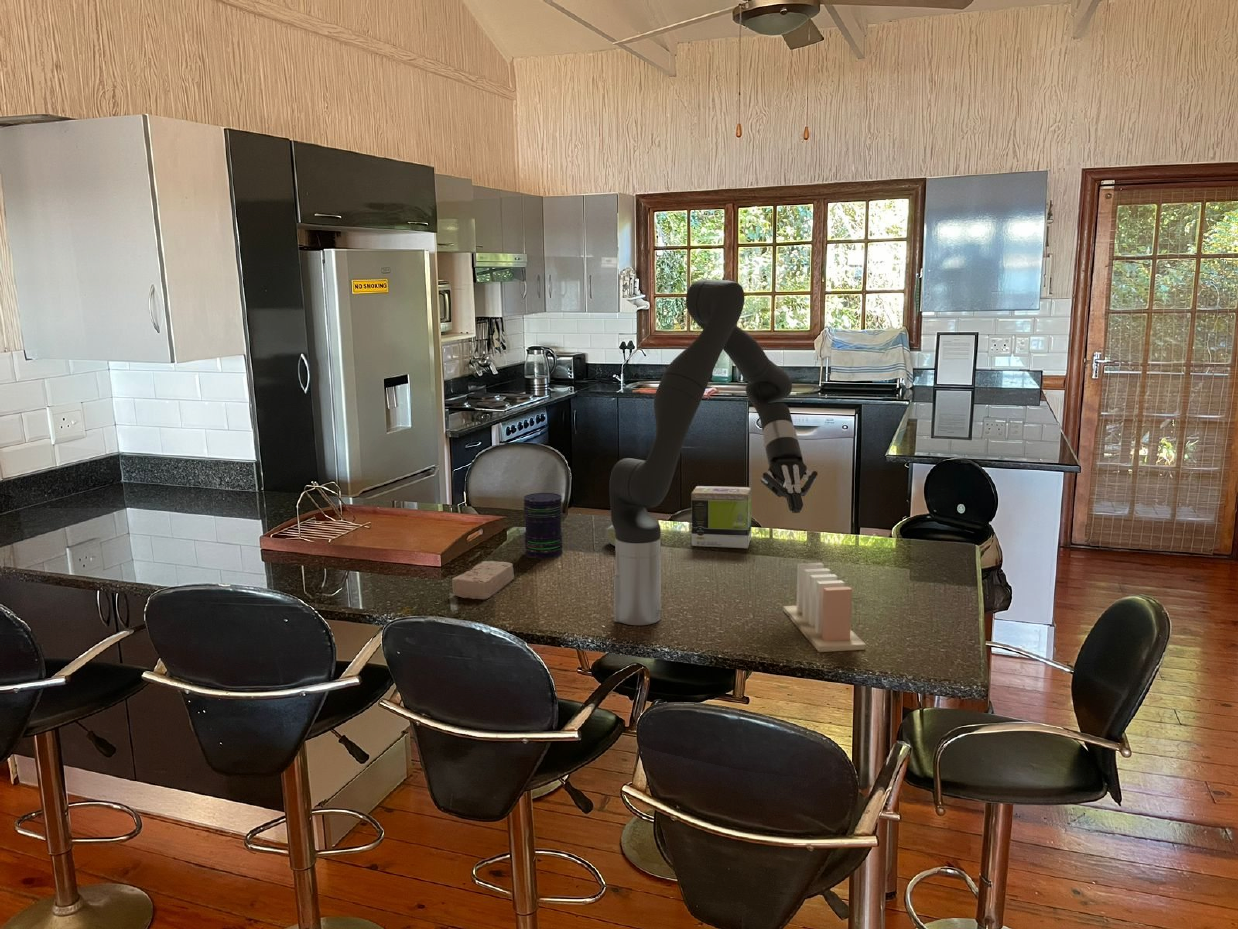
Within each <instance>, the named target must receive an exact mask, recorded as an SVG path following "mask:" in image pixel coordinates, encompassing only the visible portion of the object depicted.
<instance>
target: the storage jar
mask: <svg viewBox="0 0 1238 929" xmlns="http://www.w3.org/2000/svg"><path fill="white" fill-rule="evenodd" d="M562 498H563V496H562V495H561V494H558V493H553V492H538V493H537V492H536V493H530V494H526V495H524V496H523V520H524V522H525V523H524V524H525V533H524V548H525V557H528V558H532V559H536V558H540V559H539V560H542V559H543V558H548V559H553V558H559V557H560V556H562V555H563V554H564V551H563V550H564V549H563V546H564V545H563V544H564V538H563V536H564V535H563V531H562V519H563V505H562V504H563V502H562ZM541 558H542V559H541ZM543 560H544V559H543Z"/></svg>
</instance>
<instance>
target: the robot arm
mask: <svg viewBox="0 0 1238 929" xmlns="http://www.w3.org/2000/svg"><path fill="white" fill-rule="evenodd" d="M685 305H686V310H687V312H688V314H689V316H690V317H691V319H692V320H693V321H694V322H695V323H696V324H697V325H698V326H699V327H700V328H701V329H702V331H700V332H701V333H699V335H698V337H697V338H696V339H695V340H694V341H693V342H692V343H691V344H689V346H687V347H686V348H685V349H684V350H683V351H682V352H680V353H679V354H678V355H677V356H676V357H675V358H674V359H673V360H672V361H671V362H670V363H669V364H668V366H667V367H666V368H665V370H664V373H663V374H662V376H661V379H660V382H659V384H658V386H657V389H656V391H655V394H654V399H653V412H654V419H655V437H654V441H653V444H652V446H651V449H650V452H649V454H648V455H647V458H646V460H643V459H637V458H630V457H627V458H622V459H620V460H619V461H617V462H616V463H615V464H614V466H613V468H612V470H611V473H610V477H609V483H608V484H609V505H610V506H609V507H610V508H609V509H610V521H611V525H613V527H614V529H615V546H614V547H615V550H614V551H615V575H614V577H613V615H614V616H613V617H614V618H613V620H614V622H615V623H622V624H625V625H630V626H646V625H651V624H654V623H655V624H656V623H657V622H659V621H660V620H661V617H662V616H661V612H662V608H661V603H662V601H661V600H662V599H661V598H662V594H661V593H662V592H661V591H662V590H661V588H662V587H661V579H662V578H661V577H662V576H661V574H662V572H661V569H662V568H661V567H662V566H661V561H662V559H661V558H662V557H661V555H662V554H661V552H662V551H661V547H662V546H661V543H662V542H661V532H662V531H661V530H662V529H661V526H660V523H659V522H658V521H657V520H656V519H654V518H653V516H652V515H650V513H649V512H648V510H647V509H653V508H654V509H655V508H656V507H657V506H659V505H660V504H661V503H662V502H663V501H664V500H665V498H666V496H667V494H668V492H669V490H670V487H671V484H672V481H673V479H674V478H673V477H674V474H675V471H676V468H677V464H678V461H679V458H680V455H681V452H682V448H683V446H684V443H685V440H686V437H687V434H688V433H689V430H690V426H691V424H692V422H693V419H694V417H695V415H696V413H697V411H698V409H699V407H700V405H701V402H702V399H703V397H704V396H705V395H704V394H705V392H706V389H707V386H708V383H709V381H710V378H711V376H712V374H713V371H714V369H715V367H716V365H717V363H718V361H719V358H720V356H721V354H722V352H723V351H724V352H725V353H726V354H727V356H728V357H729V358H730V360H731V361H732V362H733V364H734V366H735V367H736V369H737V370H738V372H739V373H740V375H741V377H743V379H745V381H747V384H746V386H745V392H746V393H745V394H746V396H747V398H748V400H749V402H750V403H751V404H752V406H753V407H754V409H755V411H756V413H757V415H758V418H759V422H760V425H761V430H762V436H763V446H764V449H765V453H766V458H767V464H768V470H767V472H766V471H765V472H763V473H762V475H761V478H760V482H761V483H762V484H763V485H764V486H765V487H767V489H769V490H770V491H771V492H772V493H773V494H775V495H776V496H777V497H778V498H781V497H782V498H785V499H786V502H787V507H788V509H789V511H791V513H792V514H799V513H801V511H802V510H803V507H804V503H803V498H802V497H805V496H806V495H807V494H808V492H809V490H810V489H811V487H812V485H813V484H814V482H816V479H817V477H818V474H819V473H818V471H816V470H814V471H812V470H811V471H810V470H809V469H808V467H807V464H805V463H804V460H803V455H802V451H801V447H800V443H799V442H800V441H799V439H798V434H797V431H796V429H795V426H794V422H793V419H792V415H791V411H790V407H788V405H787V404H785V403H784V402H781V400H783V399H786V398H787V397H789V395H791V392H792V390H793V383H792V380H791V377H790V376H789V375H788V374H787V372H785V370H784V369H783V368H781V367H780V366H779V365H777V364H775V362H773V361H772V360H770V359H769V358H768V356H767V354H766V353H765V351H764V349H763V348H762V346H761V345H760V344H759V342H758V341H757V340H756V339H755V338H754V337H752V335H750V334H749V333H748V332H746V331H745V330H744V329H742V328H740V327H739V326H738V325H737V324H738V322H739V320H740V318H741V315H742V313H743V309H744V305H745V292H744V289H743V286H742V285H741V284H740V283H739V282H737V281H732V280H724V279H700V280H696V281H694V282H693V283H692V284H690V286H689V288H688V290H687V292H686V296H685ZM778 401H780V402H778ZM804 476H805V478H804ZM803 478H804V479H805V480H806V481H805V483H804V485H803V486H802V487H801V481H802V479H803Z"/></svg>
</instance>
